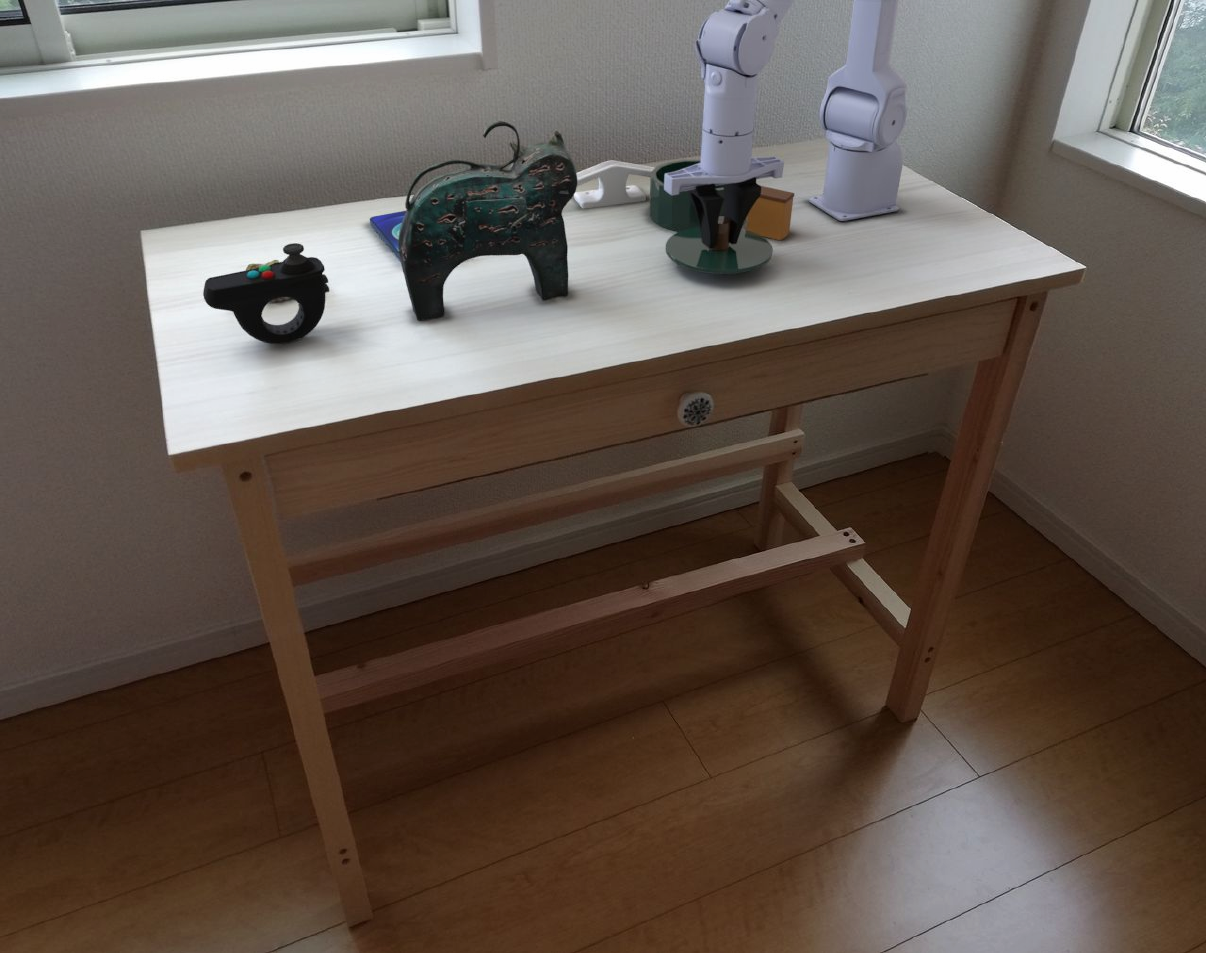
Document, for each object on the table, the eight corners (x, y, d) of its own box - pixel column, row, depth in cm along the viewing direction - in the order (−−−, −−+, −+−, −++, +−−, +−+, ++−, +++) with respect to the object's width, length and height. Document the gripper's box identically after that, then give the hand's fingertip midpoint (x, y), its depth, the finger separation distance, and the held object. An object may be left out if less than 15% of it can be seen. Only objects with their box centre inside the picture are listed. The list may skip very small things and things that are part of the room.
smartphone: (422, 207, 134) (461, 247, 123) (423, 213, 134) (462, 254, 123) (367, 217, 131) (402, 259, 120) (368, 224, 131) (403, 266, 121)
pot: (711, 193, 140) (714, 154, 137) (754, 224, 131) (758, 183, 128) (635, 206, 136) (636, 166, 133) (674, 238, 128) (676, 197, 124)
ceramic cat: (569, 278, 118) (566, 105, 106) (588, 302, 114) (586, 124, 102) (403, 305, 113) (379, 126, 101) (415, 331, 108) (391, 146, 96)
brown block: (789, 233, 129) (794, 192, 126) (780, 241, 127) (785, 199, 124) (754, 225, 131) (757, 184, 128) (744, 232, 129) (748, 191, 126)
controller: (341, 336, 107) (325, 249, 101) (222, 363, 103) (198, 273, 97) (330, 319, 110) (314, 234, 104) (215, 344, 106) (191, 256, 100)
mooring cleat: (536, 202, 137) (534, 163, 134) (671, 185, 142) (673, 147, 139) (544, 213, 134) (542, 173, 131) (682, 196, 139) (684, 157, 136)
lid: (738, 227, 127) (741, 193, 125) (792, 267, 118) (796, 231, 115) (647, 243, 123) (648, 208, 121) (695, 286, 114) (698, 249, 111)
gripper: (765, 110, 117) (755, 221, 125) (654, 125, 112) (650, 239, 120) (798, 128, 112) (785, 242, 120) (682, 145, 107) (676, 263, 115)
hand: (719, 242), depth 120 cm, fingers closed on lid, 2 cm apart
